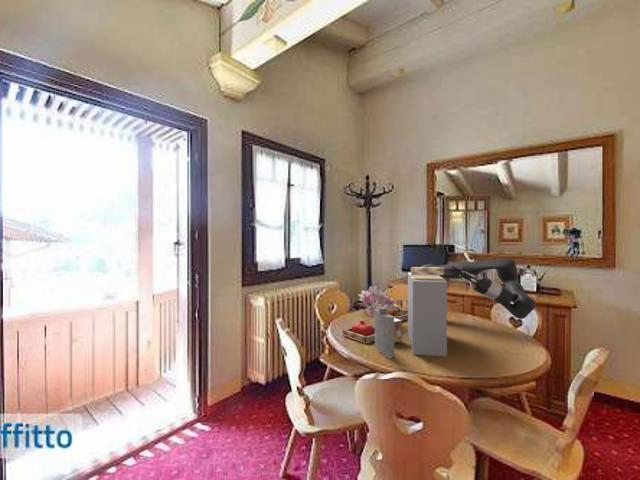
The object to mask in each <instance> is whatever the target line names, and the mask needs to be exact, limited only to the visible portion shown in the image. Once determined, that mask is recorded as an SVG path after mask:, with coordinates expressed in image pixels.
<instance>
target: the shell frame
mask: <svg viewBox="0 0 640 480" xmlns="http://www.w3.org/2000/svg"><path fill="white" fill-rule="evenodd" d="M374 308H375V307H374ZM400 310H401V311H400V314H399V316H398V317H395V316H394V318H396V319H399V320H401V321H402V322H404V321H405V322H406V321H408V309H406V308H405V309H403V308H400ZM363 311H364V315H365V314H367V315H368V312H369V311H370V310H367V308H366V309H363ZM372 314H373V312H371V316H372ZM403 314H404V315H403ZM367 315H366V316H367ZM371 316H370V317H371Z"/></svg>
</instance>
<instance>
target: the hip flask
mask: <svg viewBox="0 0 640 480" xmlns="http://www.w3.org/2000/svg"><path fill="white" fill-rule="evenodd" d="M386 310H387V308H386V307H379V308H378V309H375V320H374V324H375V342H374V348H375V347H376V348H377V349H378V350H379V351H380V352H381V353H382V354H384V355H385V356H387V357H391V358H390V359H393V358H392V357H394V358H395V343H394V316H392V315H389V314H387V313H386ZM376 348H375V349H376ZM377 349H376V350H377ZM378 350H377V351H378ZM379 351H378V352H379ZM380 352H379V353H380ZM381 353H380V354H381ZM382 354H381V355H382ZM384 355H383V356H384ZM385 356H384V357H385ZM387 357H386V358H387Z"/></svg>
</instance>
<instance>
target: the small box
mask: <svg viewBox="0 0 640 480" xmlns="http://www.w3.org/2000/svg"><path fill="white" fill-rule="evenodd" d="M402 333H403V321H401V320H399V319H396V318H394V344H396V342H398V343H402V341H403V339H402V338H403V336H402V335H403V334H402Z"/></svg>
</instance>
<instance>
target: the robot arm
mask: <svg viewBox="0 0 640 480" xmlns="http://www.w3.org/2000/svg"><path fill="white" fill-rule="evenodd" d="M420 267H451V268H452V269H451V271H453V272H454V273H456V274H458V275H440V276H441V277H442V278H444V279H448V280H449V279H451V280H455V279H456V280H457V279H459V280H464V281H466V282H467V283H469V284H470V285H472V289H473V291H475V292H476V293H479V294H480V295H482V296H483V297H486V298H488V299H490V300H492V301H494V302H496V303H497V304H499V305H501V306H503V308H505V309H506V310H507V311H508V312H509V313H510V314H511V315H512V316H514V317H515V318H517V319H520V320H523V319H526V318H527V317H528V316H529V314H530V313H532V311H534V309H536V307H537V304H536V301H535V299H533V298H532V297H531V296H529V295H528V294H527V292H526V290H525V288H524V287H523V284H521V283H520V282H519V275H518V274H519V273H518V269H517V265H516V261H515V260H514V259H513V258H508V257H504V258H503V257H502V258H496V259H489V260H488V259H487V260H478V261H477V260H476V261H462V262H461V261H460V262H459V261H458V262H453V263H447V264H441V265H436V264H433V263H427V264H423V265H422V266H421V265H420ZM458 268H463V271H461V270H459V269H458ZM487 270H495V271H496V274H497V277H498V279H499V280H500V281H501V282H502V284H503V285H504V286H502V285H500V284H499V283H498V282H496V281H494V280H492V279H490V278H488V277H487V276H485V275H480V274H482V273H483V272H485V271H487ZM478 275H479V276H478ZM477 276H478V277H477Z"/></svg>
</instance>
